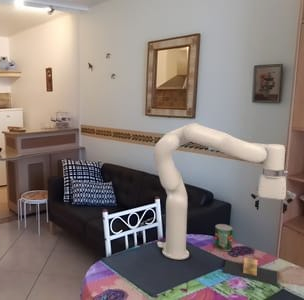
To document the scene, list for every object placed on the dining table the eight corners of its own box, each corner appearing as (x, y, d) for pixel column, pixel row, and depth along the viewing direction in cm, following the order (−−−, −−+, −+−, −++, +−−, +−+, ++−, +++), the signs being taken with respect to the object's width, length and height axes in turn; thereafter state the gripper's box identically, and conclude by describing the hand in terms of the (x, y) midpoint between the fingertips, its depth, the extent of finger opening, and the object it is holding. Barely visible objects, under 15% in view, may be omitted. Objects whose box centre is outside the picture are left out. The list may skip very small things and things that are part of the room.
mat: (222, 272, 140) (222, 271, 140) (226, 260, 150) (226, 260, 150) (277, 285, 129) (277, 284, 129) (276, 271, 139) (277, 271, 139)
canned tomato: (234, 250, 159) (235, 230, 157) (218, 251, 159) (219, 230, 157) (226, 243, 167) (227, 223, 165) (211, 244, 167) (212, 224, 165)
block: (243, 272, 139) (243, 262, 138) (244, 267, 143) (244, 257, 142) (256, 275, 136) (257, 265, 135) (257, 270, 140) (257, 260, 139)
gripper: (297, 172, 135) (294, 211, 138) (250, 169, 145) (248, 205, 147) (298, 176, 129) (295, 216, 132) (249, 172, 139) (247, 210, 141)
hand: (270, 210), depth 140 cm, fingers open, 9 cm apart
